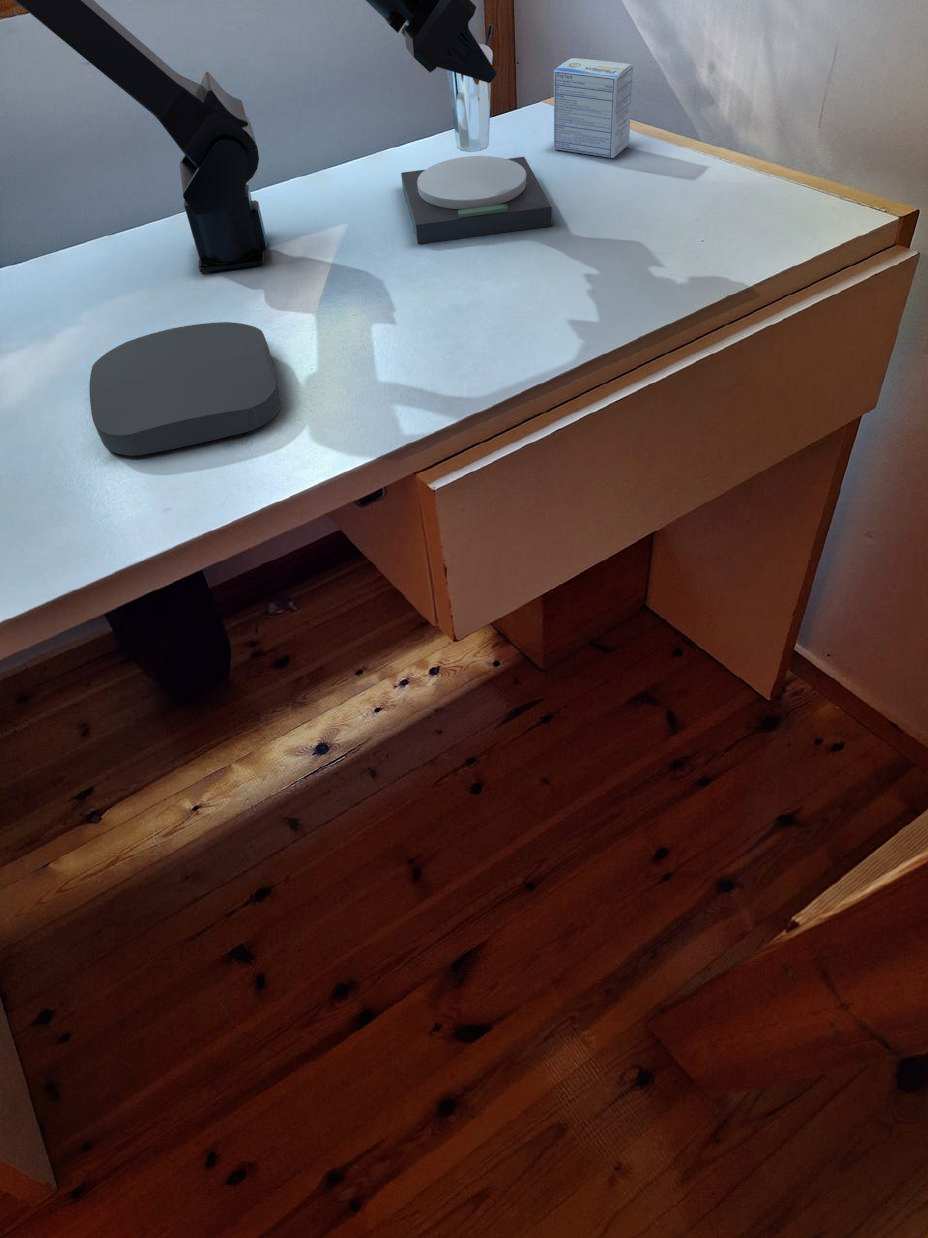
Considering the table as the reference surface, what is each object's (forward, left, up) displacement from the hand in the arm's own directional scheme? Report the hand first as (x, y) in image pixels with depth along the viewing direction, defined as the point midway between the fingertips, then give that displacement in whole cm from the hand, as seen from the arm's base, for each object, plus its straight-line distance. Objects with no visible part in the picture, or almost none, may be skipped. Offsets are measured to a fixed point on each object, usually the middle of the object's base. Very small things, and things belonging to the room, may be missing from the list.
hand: (486, 70), depth 87 cm
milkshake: (-1, 0, -7) cm, 7 cm away
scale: (-2, +1, -13) cm, 14 cm away
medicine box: (+14, +13, -13) cm, 24 cm away
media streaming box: (-31, -29, -13) cm, 44 cm away
